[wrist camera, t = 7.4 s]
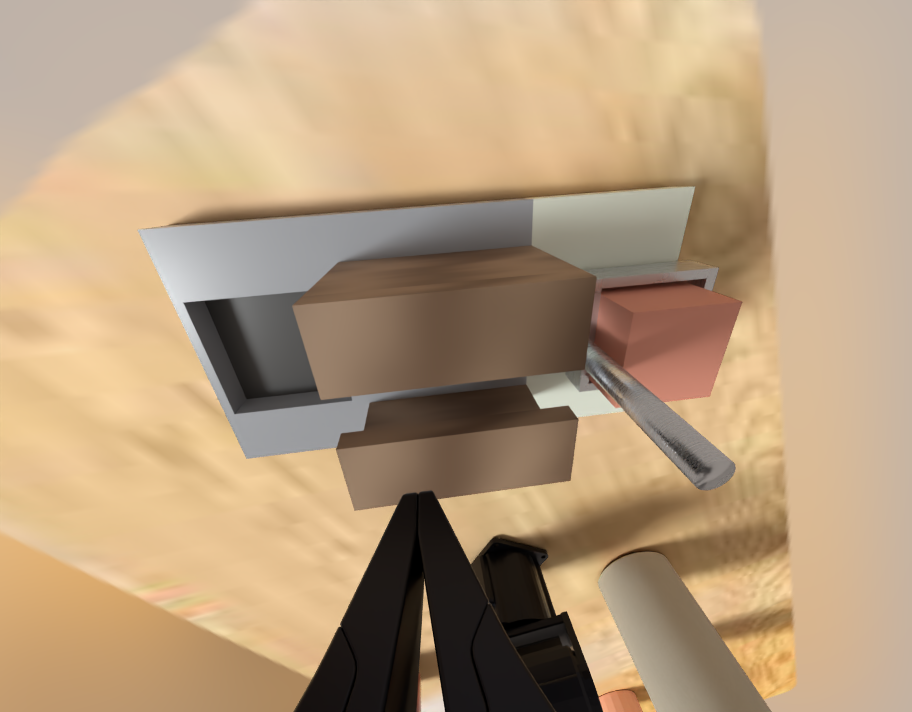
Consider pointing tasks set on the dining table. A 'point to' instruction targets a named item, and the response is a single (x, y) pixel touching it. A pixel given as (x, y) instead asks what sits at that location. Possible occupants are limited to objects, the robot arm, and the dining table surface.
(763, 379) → the dining table surface
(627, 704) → the pepper shaker
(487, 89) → the dining table surface
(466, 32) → the dining table surface
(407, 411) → the tunnel
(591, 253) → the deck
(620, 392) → the grey piece
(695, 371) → the block
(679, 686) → the travel mug
